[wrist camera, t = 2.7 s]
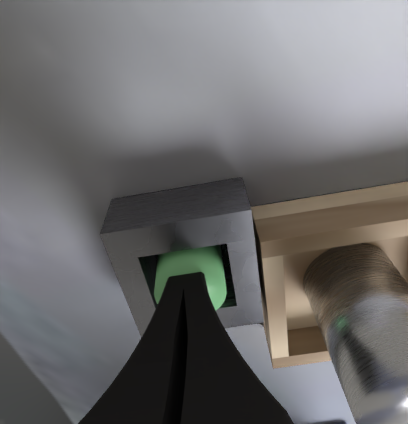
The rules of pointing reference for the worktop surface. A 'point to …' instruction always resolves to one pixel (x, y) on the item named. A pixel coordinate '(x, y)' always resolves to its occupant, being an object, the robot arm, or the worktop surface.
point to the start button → (193, 270)
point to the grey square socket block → (185, 244)
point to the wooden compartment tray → (310, 249)
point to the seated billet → (363, 328)
